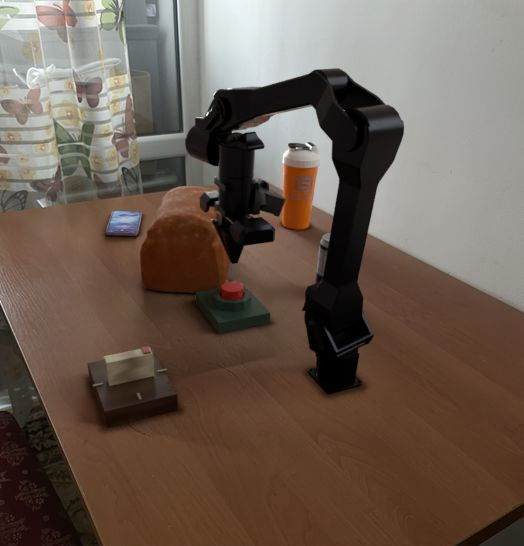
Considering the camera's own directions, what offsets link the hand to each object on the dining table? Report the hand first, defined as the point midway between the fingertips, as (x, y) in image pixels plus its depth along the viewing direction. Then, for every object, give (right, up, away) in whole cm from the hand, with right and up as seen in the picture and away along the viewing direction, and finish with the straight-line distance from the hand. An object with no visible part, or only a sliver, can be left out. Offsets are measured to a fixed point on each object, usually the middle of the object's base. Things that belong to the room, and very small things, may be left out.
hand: (234, 262), depth 96 cm
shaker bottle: (+14, +17, +45) cm, 50 cm away
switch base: (-14, -22, -16) cm, 30 cm away
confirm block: (-1, -8, +6) cm, 10 cm away
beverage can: (+18, -4, +14) cm, 23 cm away
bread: (-11, +2, +21) cm, 24 cm away
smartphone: (-29, +15, +39) cm, 51 cm away
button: (-1, -5, +4) cm, 6 cm away
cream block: (-14, -19, -18) cm, 30 cm away
